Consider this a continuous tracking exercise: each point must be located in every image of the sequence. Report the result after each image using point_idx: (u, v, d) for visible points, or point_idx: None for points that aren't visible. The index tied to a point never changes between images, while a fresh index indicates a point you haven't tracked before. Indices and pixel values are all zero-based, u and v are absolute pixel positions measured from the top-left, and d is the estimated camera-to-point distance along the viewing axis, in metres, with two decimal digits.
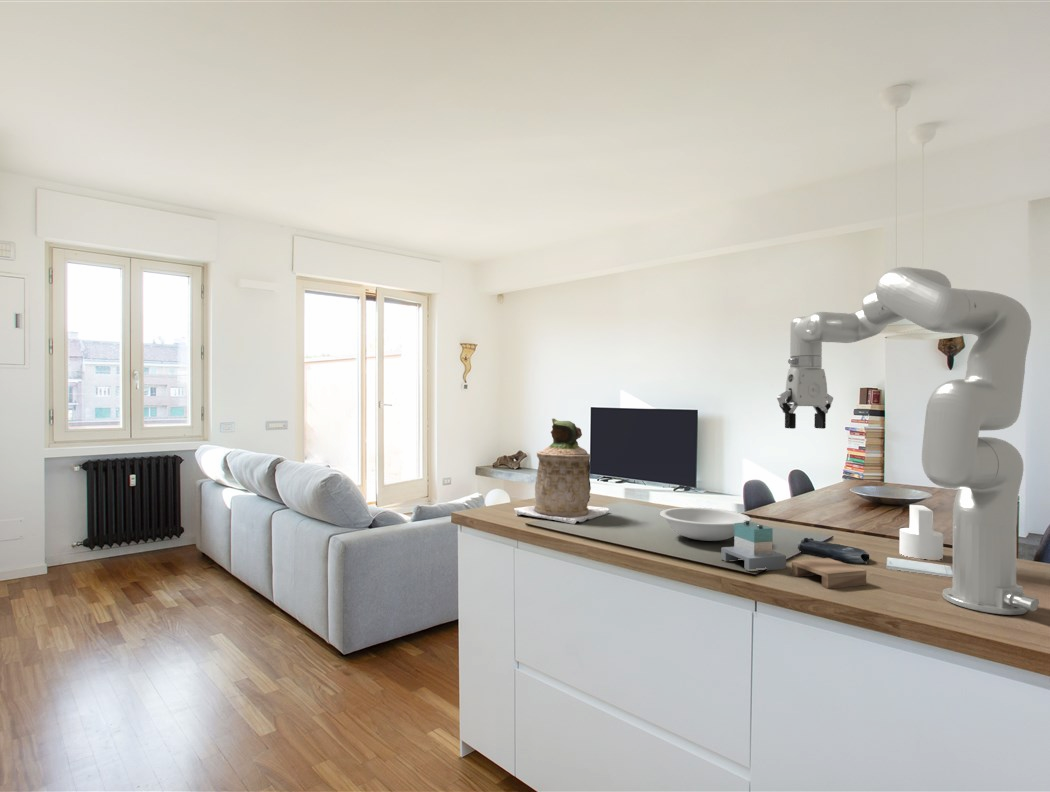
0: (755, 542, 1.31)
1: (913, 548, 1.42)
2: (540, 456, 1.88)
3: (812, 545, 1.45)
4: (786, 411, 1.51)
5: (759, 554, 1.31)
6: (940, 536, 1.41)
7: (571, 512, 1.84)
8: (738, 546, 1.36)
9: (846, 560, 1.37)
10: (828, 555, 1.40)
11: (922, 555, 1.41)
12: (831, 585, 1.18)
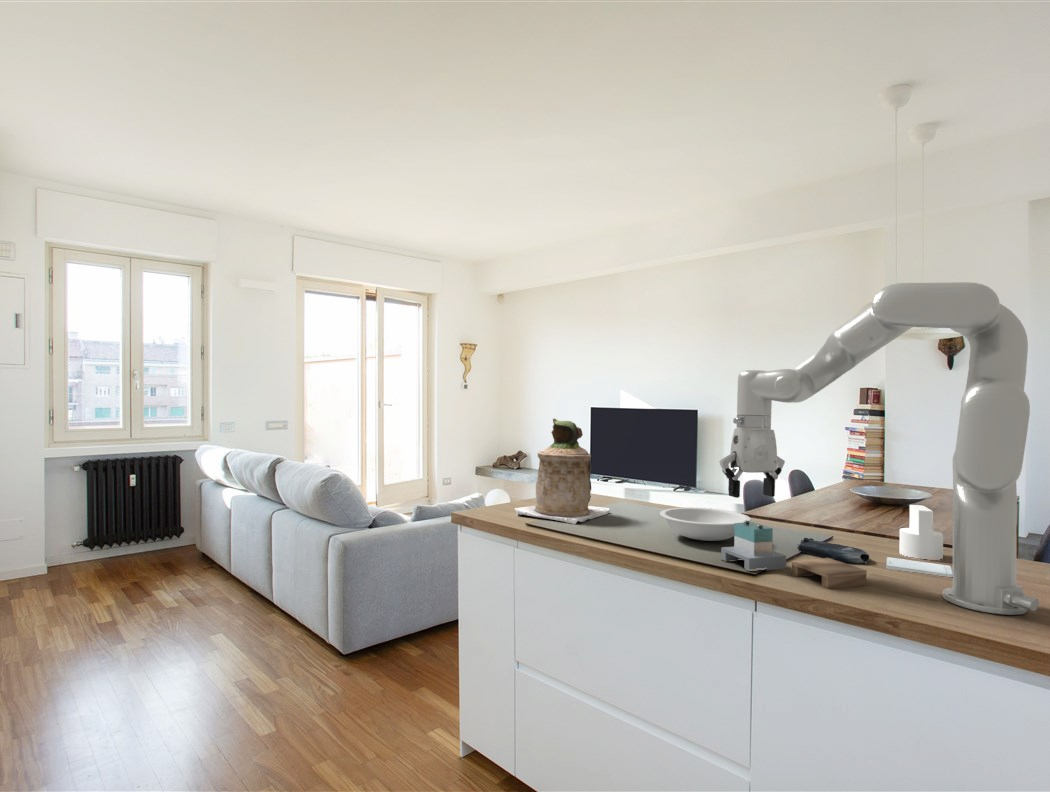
0: (755, 542, 1.31)
1: (913, 549, 1.42)
2: (541, 456, 1.88)
3: (812, 545, 1.44)
4: (729, 477, 1.33)
5: (759, 554, 1.31)
6: (940, 536, 1.41)
7: (572, 512, 1.84)
8: (738, 546, 1.36)
9: (846, 560, 1.37)
10: (828, 555, 1.40)
11: (922, 555, 1.41)
12: (831, 585, 1.18)
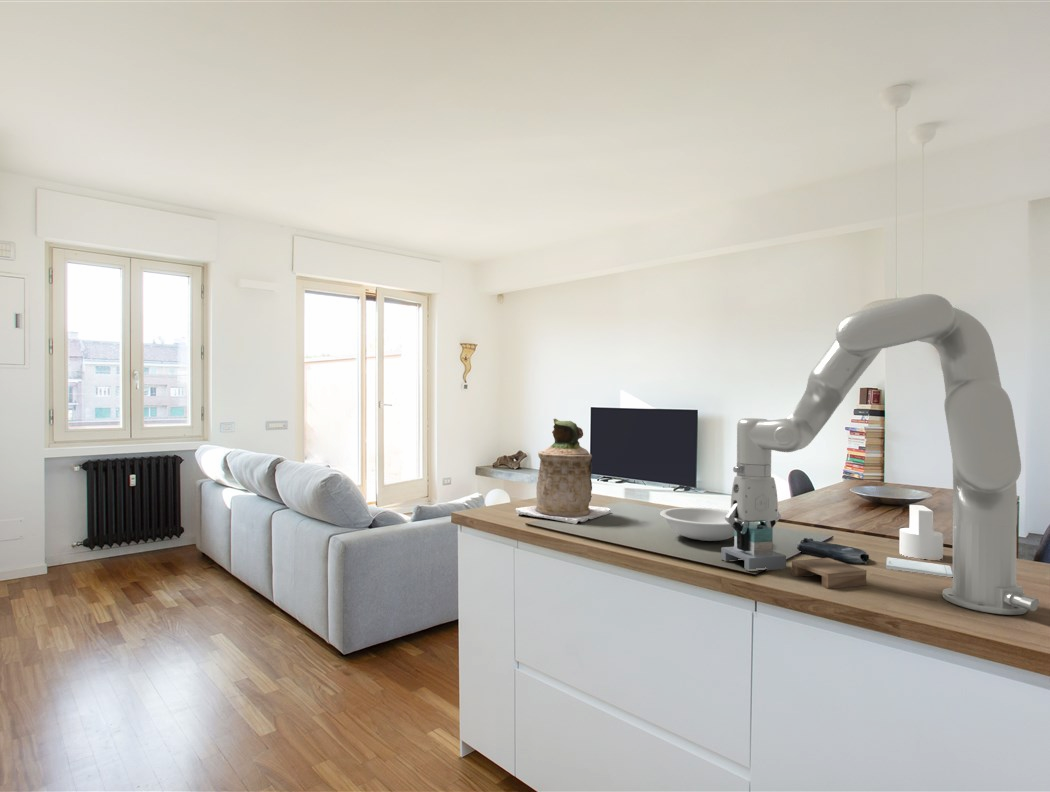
0: (755, 542, 1.31)
1: (913, 548, 1.42)
2: (542, 456, 1.88)
3: (811, 545, 1.44)
4: (738, 532, 1.34)
5: (759, 554, 1.31)
6: (940, 536, 1.41)
7: (573, 512, 1.84)
8: None
9: (845, 560, 1.37)
10: (827, 555, 1.40)
11: (922, 555, 1.41)
12: (831, 585, 1.18)
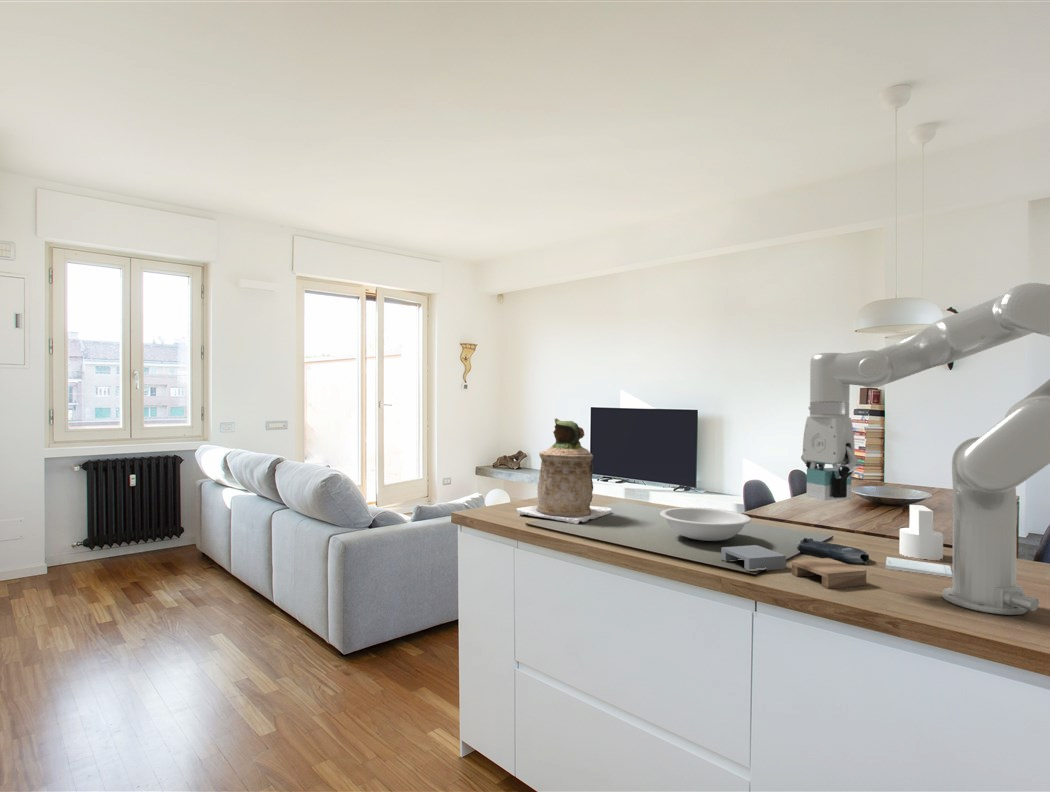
0: (808, 482, 1.25)
1: (913, 548, 1.42)
2: (543, 456, 1.88)
3: (811, 545, 1.44)
4: None
5: (811, 496, 1.24)
6: (940, 536, 1.41)
7: (574, 512, 1.84)
8: None
9: (845, 560, 1.37)
10: (827, 555, 1.40)
11: (922, 555, 1.41)
12: (831, 585, 1.18)
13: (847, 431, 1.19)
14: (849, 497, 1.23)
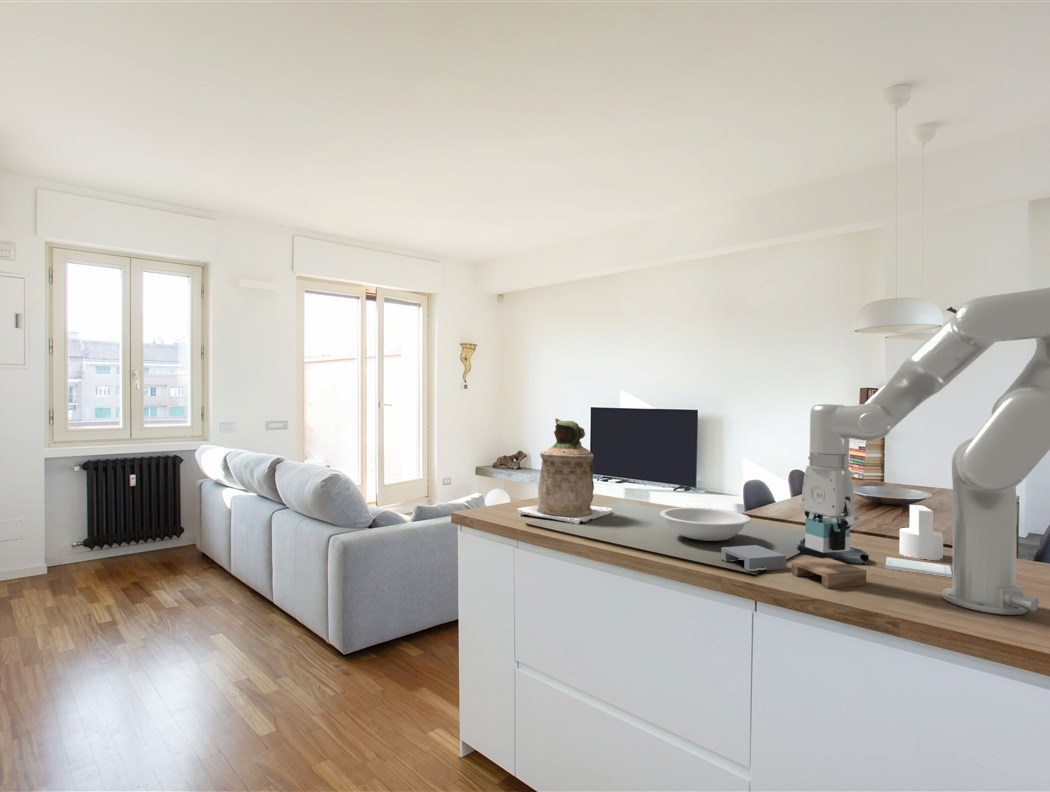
0: (806, 533, 1.25)
1: (913, 548, 1.42)
2: (543, 456, 1.88)
3: None
4: None
5: (810, 547, 1.24)
6: (940, 536, 1.41)
7: (575, 512, 1.84)
8: None
9: (845, 560, 1.37)
10: (827, 555, 1.40)
11: (922, 555, 1.41)
12: (831, 585, 1.18)
13: (846, 484, 1.19)
14: (847, 549, 1.23)
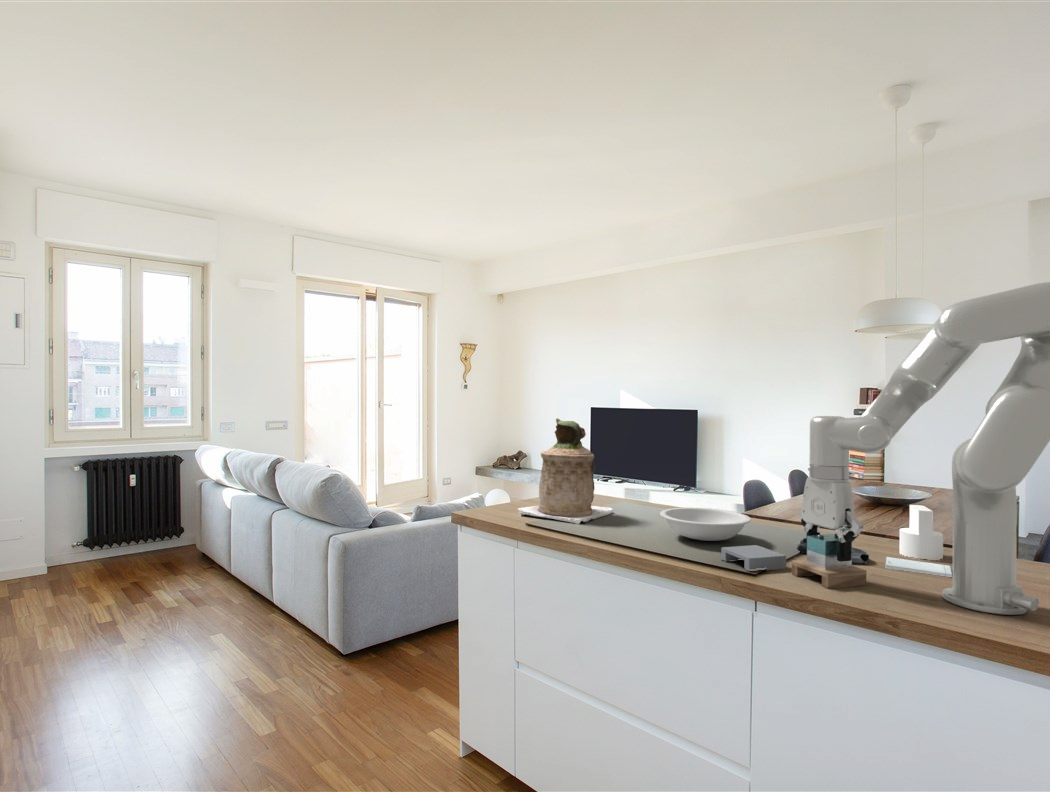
0: (808, 550, 1.25)
1: (913, 548, 1.42)
2: (544, 456, 1.88)
3: None
4: None
5: (812, 564, 1.24)
6: (940, 536, 1.41)
7: (575, 512, 1.84)
8: None
9: None
10: None
11: (922, 555, 1.41)
12: (831, 585, 1.18)
13: (847, 496, 1.19)
14: (849, 566, 1.22)
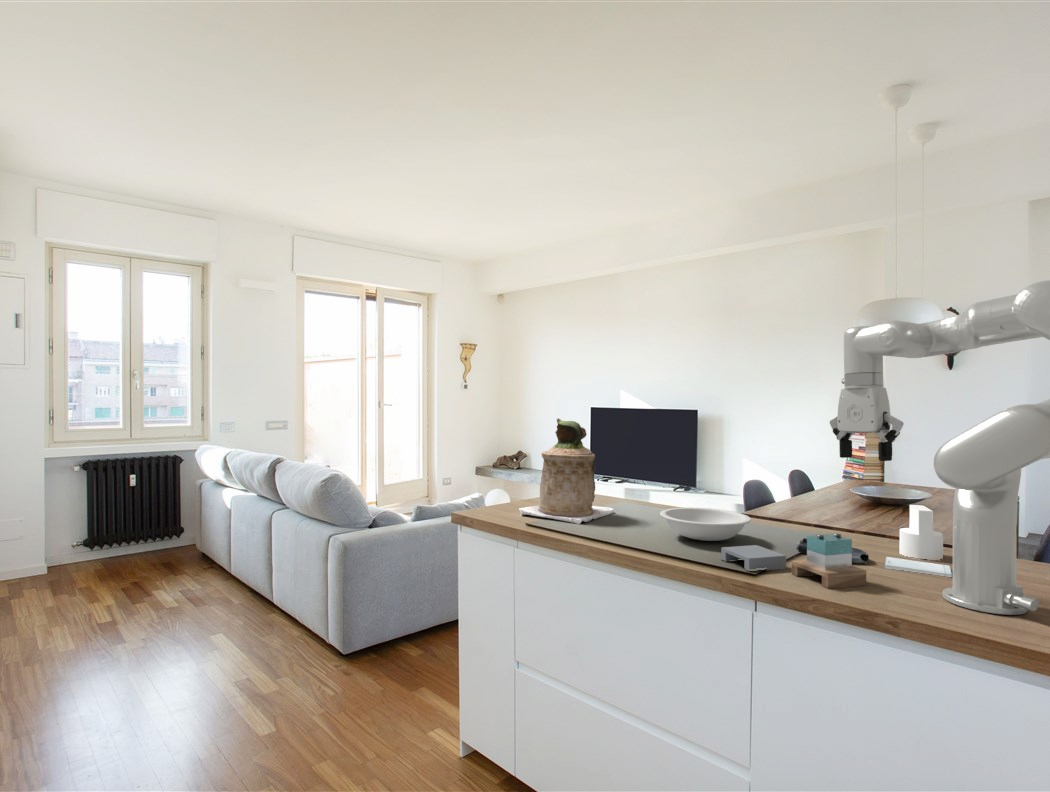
0: (808, 550, 1.25)
1: (913, 548, 1.42)
2: (545, 456, 1.88)
3: None
4: None
5: (812, 564, 1.24)
6: (940, 536, 1.41)
7: (576, 512, 1.84)
8: None
9: None
10: None
11: (922, 555, 1.41)
12: (831, 585, 1.18)
13: (883, 400, 1.24)
14: (849, 566, 1.22)
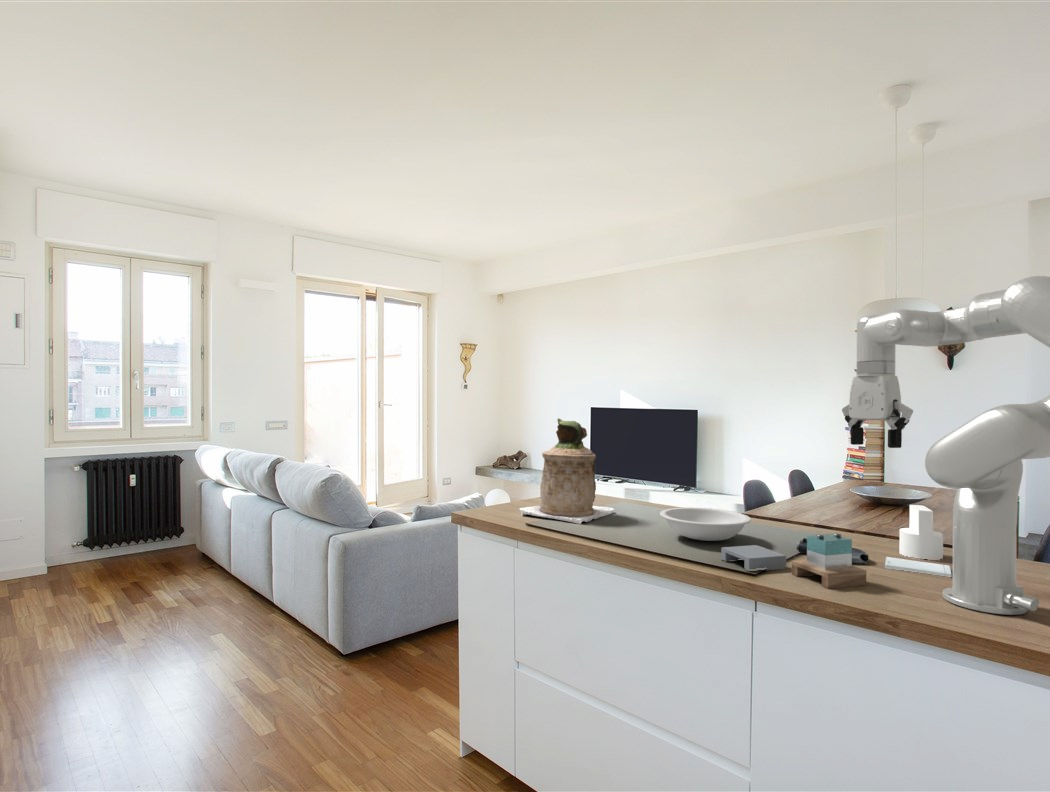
0: (808, 550, 1.25)
1: (913, 549, 1.42)
2: (546, 456, 1.88)
3: None
4: None
5: (812, 564, 1.24)
6: (940, 536, 1.41)
7: (577, 512, 1.84)
8: None
9: None
10: None
11: (922, 555, 1.41)
12: (831, 585, 1.18)
13: (894, 388, 1.26)
14: (849, 566, 1.22)
